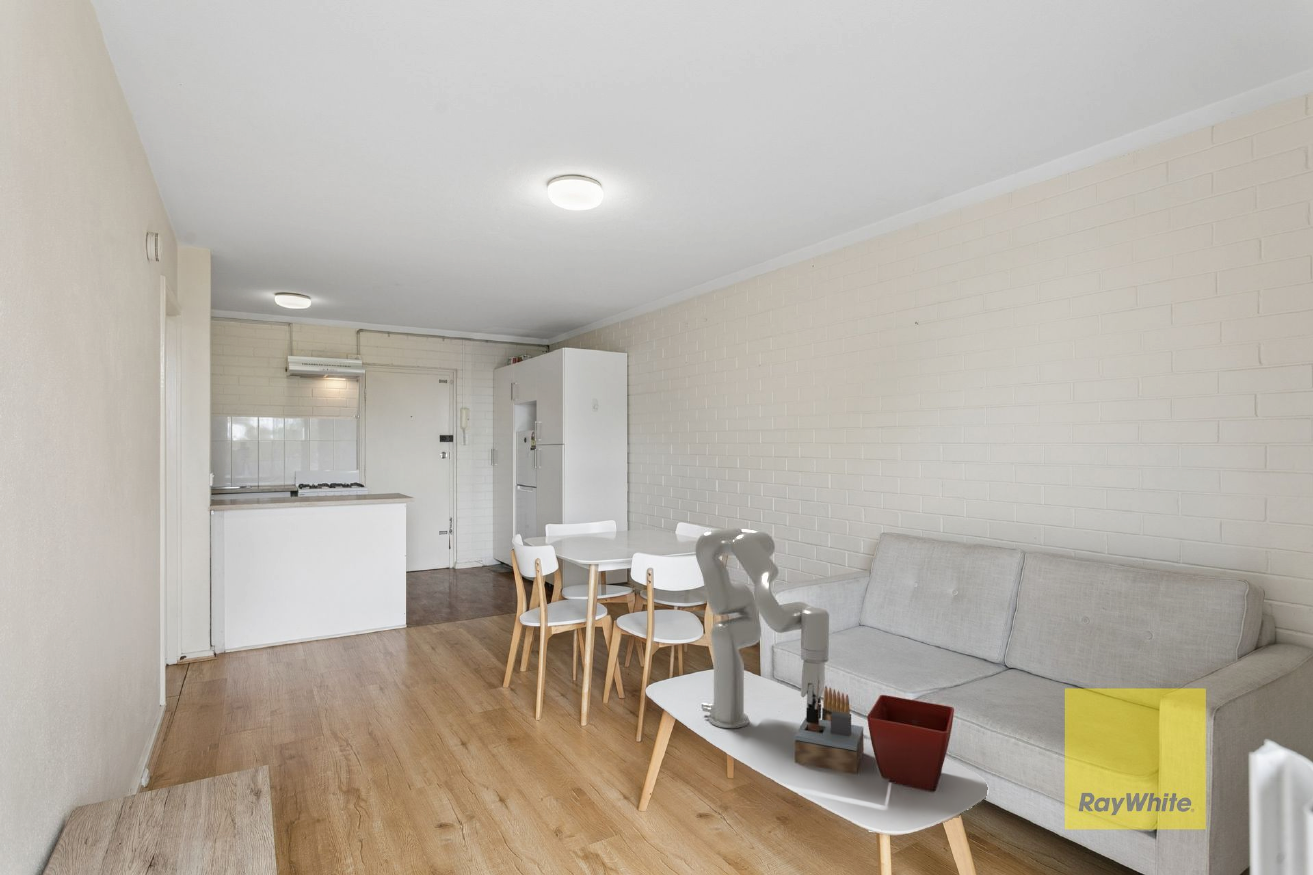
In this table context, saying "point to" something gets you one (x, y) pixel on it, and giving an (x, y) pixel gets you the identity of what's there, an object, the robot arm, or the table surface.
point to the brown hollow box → (829, 756)
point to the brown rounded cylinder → (814, 725)
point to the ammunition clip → (834, 703)
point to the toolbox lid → (833, 732)
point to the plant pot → (910, 740)
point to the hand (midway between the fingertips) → (813, 719)
